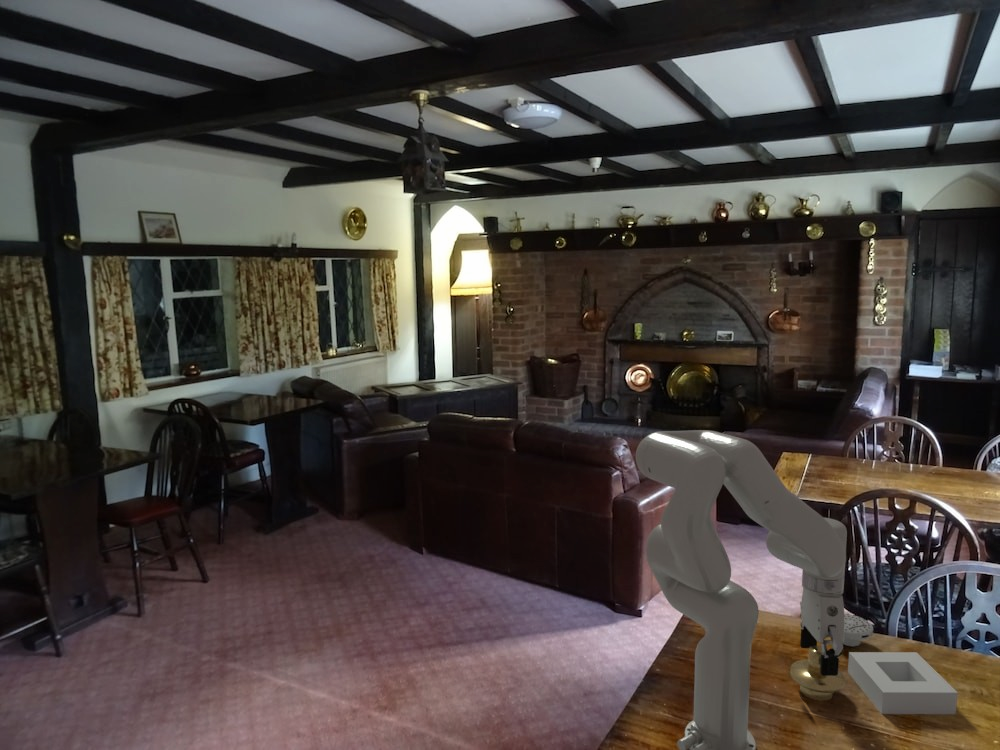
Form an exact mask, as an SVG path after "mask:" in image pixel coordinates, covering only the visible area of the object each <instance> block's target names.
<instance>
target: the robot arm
mask: <svg viewBox="0 0 1000 750" xmlns="http://www.w3.org/2000/svg"><path fill="white" fill-rule="evenodd" d="M635 463H636V466H637V468H638V470H639V472H641V474H643V476H644V477H647V478H648V479H650V480H652V481H655V482H658V483H660V484H662V485H665V486H667V487H670V488H673V489H674V492H673V493H672V495H671V497H670V499H669V501H668V502H667V504H666V506H665V508H664V510H663V511H662V514H661V517H660V523H659V524H658V525H656V526H655V527H653V529H652V530H651V531H650V533H649V535H648V537H647V540H646V545H645V556H646V561H647V563H648V566H649V568H650V569H651V572H652V574H653V577H654V578H655V580H656V582H657V584H658V586H659V588H660V590H661V592H662V593H663V595H664V597H665V599H666V600H667V602H668V603H669V604H670V606H671V607H672V608H673V609H675V610H676V611H677V612H679V613H680V614H682V615H684V616H685V617H687V618H689V619H690V620H692V621H694V622H695V623H696V624H698V625H700V626H701V627H703V629H704V630H705V634H704V636H703V637H702V638H701V639H700V640H699V642H698V643H697V644H696V648H695V653H694V687H693V689H694V690H693V691H694V692H693V693H694V694H693V719H692V720H691V721H689V723H688V724H687V725H686V727H684V736H683V737H682V738H680V739H678V740H677V742H676V745H677V748H678V749H679V750H757V743H756V740H755V737H754V736H753V734H752V733H751V732H750V730H749V729H748V727H749V725H748V724H749V723H748V722H749V701H750V677H751V675H750V674H751V656H752V645H753V640H754V639H753V638H754V636H755V631H756V627H757V624H758V619H759V613H760V612H759V605H758V602H757V601H756V598H755V597H754V596H753V595H752V593H751V592H750V591H748V589H746V588H745V587H743V586H742V585H740V584H738V583H736V582H734V581H732V580H731V577H732V566H731V562H730V558H729V555H728V553H727V551H726V549H725V546H724V544H723V543H722V539H721V538H720V536H719V534H718V530H717V529H716V526H715V524H714V521H713V517H712V512H713V508H714V506H715V503H716V501H717V498H718V496H719V493H720V491H721V489H722V487H723V486H724V487H725V488H726V489H727V490H728V492H729V493H730V495H732V497H733V498H734V499H735V501H736V502H737V503H738V505H739V506H740V507H741V508H742V510H743V512H744V513H745V514H746V515H747V517H748V518H750V519H751V520H752V521H754V522H755V523H757V524H758V525H759V526H761V527H763V528H764V529H766V530H768V531H769V532H768V533H767V535H766V539H765V544H766V548H767V550H768V551H769V553H770V554H771V555H772V556H773V557H774V558H776V559H777V560H779V561H782V562H784V563H786V564H788V565H791V566H794V567H796V568H799V569H801V570H802V573H801V575H802V576H801V587H802V595H801V601H800V602H799V605H800V614H799V615H800V619H801V622H800V627H801V629H800V641H799V643H800V644H799V647H800V648H801V649H809V647H811V646H818V643H819V644H820V647H822V651H823V655H821V666H820V673H821V675H823V676H836V675H838V670H839V664H840V663H839V662H840V661H839V660H840V659H841V655H842V651H843V649H844V644H843V642H844V614H845V608H844V607H845V606H844V605H845V604H844V597H843V594H844V592H845V591H844V589H845V588H844V587H845V586H844V585H845V572H846V562H847V540H848V539H847V537H848V531H847V527H846V525H845V524H844V523H842V522H841V521H839V520H837V519H834V518H829V517H824V516H823V515H821V514H819V512H817V511H816V510H814V509H813V508H812V507H811V506H809V505H808V504H807V503H806V502H805V501H803V500H802V499H801V498H800V497H799V496H797V495H796V494H795V493H793V492H791V490H789V489H788V488H787V487H786V486H785V484H784V483H783V482H782V480H781V479H780V477H779V476H778V474H777V473H776V472H775V470H774V469H773V467H772V465H771V464H770V462H768V460H767V458H766V457H765V456H764V454H763V453H762V451H761V450H760V449H759V447H758V446H757V445H756V444H754V443H753V442H751V441H750V440H749V439H745V438H742V437H737V436H734V435H730V434H726V433H723V432H719V431H715V430H710V429H709V430H708V429H707V430H705V429H703V430H702V429H699V430H698V429H697V430H696V429H693V430H690V429H689V430H672V431H671V430H668V431H656V432H653V433H652V432H651V433H650V434H648V435H646V436H645V437H644V438H642V439H641V441H640V442H639V444H638V446H637V447H636V451H635ZM826 638H829V639H826ZM828 645H832V647H831V648H829V649H828V647H827V646H828ZM827 650H828V651H827Z"/></svg>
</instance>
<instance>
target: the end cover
mask: <svg viewBox="0 0 1000 750" xmlns="http://www.w3.org/2000/svg"><path fill="white" fill-rule="evenodd" d="M828 650H829V649H827V651H828ZM821 655H823V651H822V647H821V645H820V646H819V645H817V646H811V647H809V648H808V655H807V656H808V657H807V659H800V660H797V661H794V662H793V663H792V664H791V666H790V669H789V670H790V671H789V673H790V674H789V675H790V677H791V679H792V680H793V681H794V682H795V683H796V684H798V685H799V686H800V687H799V690H800V692H801V693H799V697H801V698H800V699H801V700H802V702H804V703H807V702H806V700H805V699H804V697H803V696H802V694H803V695H804V696H806V697H807V698H809V699H811V700H815V701H820V702H824V701H829V700H831V699H832V698H833V696H834V695H833V694H834V693H837V692H840V691H842V690H843V689H844V688H845V684H846V683H845V681H846V679H845V675H844V674H843V672H841V671H840V669H838V675H836V676H823V675H821V673H820V666H821Z"/></svg>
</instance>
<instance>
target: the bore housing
mask: <svg viewBox="0 0 1000 750" xmlns="http://www.w3.org/2000/svg"><path fill="white" fill-rule="evenodd" d="M847 665H848V666H847V673H848V674H849V675H850V677H851V678H852V679H853V680H854V682H855V683H856V684H857V685H858V686H859V688H860V690H862V691H863V693H864V694H865V695H866V697H867V698H868V699H869V701H870V702H871V703H872V704H873V706H875V708H876V709H877V710H878V712H879V713H880V714H881V715H956V714H957V707H958V705H957V704H958V695H959V692H958V691H957V690H956V689H955V688H954V687H953V686H951V684H950V683H949V682H948V681H946V679H945V678H944V677H943V676H942V675H940V673H938V672H937V671H936V670H935V669H934V668H933V667H932V666H931V665H930V664H929V662H928V661H926V660H925V659H924V658H923V657H922V656H921V655H920V654H919V653H918V652H917V651H915V652H914V651H913V652H912V651H910V652H907V651H906V652H905V651H904V652H903V651H902V652H899V651H897V652H896V651H895V652H894V651H887V652H886V651H885V652H884V651H882V652H881V651H879V652H875V651H872V652H871V651H867V652H865V651H864V652H862V651H858V652H857V651H854V652H853V651H849V652H848V662H847Z"/></svg>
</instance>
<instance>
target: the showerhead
mask: <svg viewBox="0 0 1000 750" xmlns="http://www.w3.org/2000/svg"><path fill="white" fill-rule="evenodd" d="M873 634H874V627H873V625H872V624H871V622H869V621H868V620H866V619H864V618H863V617H861V616H857V615H855V614H849V613H844V642H843V646H844V645H845V646H848V647H858V646H860V645H861V643H862V640H867V639H870V638H871V637H872V636H873Z"/></svg>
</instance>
